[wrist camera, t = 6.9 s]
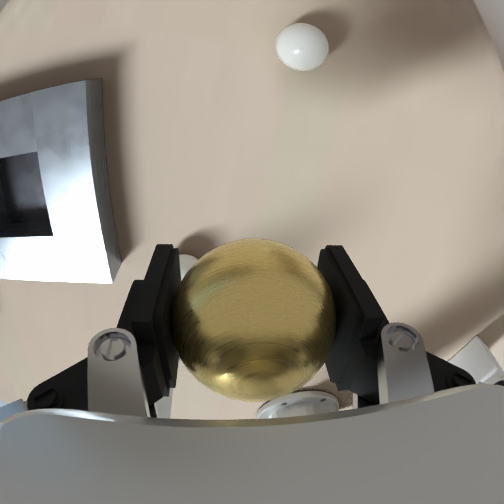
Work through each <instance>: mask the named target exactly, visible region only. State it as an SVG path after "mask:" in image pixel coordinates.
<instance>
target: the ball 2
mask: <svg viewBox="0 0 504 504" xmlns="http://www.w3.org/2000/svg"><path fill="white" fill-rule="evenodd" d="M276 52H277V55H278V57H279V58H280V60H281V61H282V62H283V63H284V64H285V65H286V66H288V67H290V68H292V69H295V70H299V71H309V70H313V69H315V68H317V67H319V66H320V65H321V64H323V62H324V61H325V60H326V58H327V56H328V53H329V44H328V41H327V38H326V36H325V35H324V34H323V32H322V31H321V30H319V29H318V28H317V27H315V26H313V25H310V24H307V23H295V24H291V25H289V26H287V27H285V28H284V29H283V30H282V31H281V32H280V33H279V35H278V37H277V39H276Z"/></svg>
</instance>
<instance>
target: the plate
mask: <svg viewBox="0 0 504 504" xmlns="http://www.w3.org/2000/svg"><path fill="white" fill-rule="evenodd" d="M120 266H121V258H120V253H119V247H118V242H117V236H116V230H115V224H114V218H113V211H112V204H111V197H110V189H109V181H108V172H107V163H106V152H105V140H104V125H103V105H102V79H91V80H83V81H78V82H73V83H68V84H63V85H58V86H54V87H50V88H46V89H41V90H38V91H34V92H30V93H26V94H23V95H19V96H16V97H12V98H9V99H6V100H3V101H0V278H2V279H19V280H38V281H59V282H85V283H113V281H114V279H115V277H116V274H117V272H118V270H119V268H120Z"/></svg>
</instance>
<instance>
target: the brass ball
mask: <svg viewBox="0 0 504 504" xmlns="http://www.w3.org/2000/svg"><path fill="white" fill-rule="evenodd" d="M336 318H337V317H336V309H335V302H334V299H333V296H332V293H331V290H330V287H329V285H328V284H327V282H326V280H325V278H324V277H323V275H322V273H321V272H320V271H319V270H318V268H317V267H316V266H315V265H314V264H313V263H312V262H311V261H310V260H309V259H308V258H307V257H306V256H304V255H303V254H301V253H300V252H298V251H297V250H295V249H293V248H291V247H289V246H287V245H285V244H282V243H279V242H276V241H271V240H265V239H242V240H236V241H232V242H229V243H226V244H224V245H221V246H219V247H217V248H215V249H213V250H211V251H210V252H208V253H206V254H205V255H204V256H202V257H201V258H200V259H199V260H198V261H197V262H196V263H195V264H194V265H193V266H192V267H191V268H190V269H189V270H188V272H187V273H186V275H185V276H184V278H183V279H182V281H181V283H180V285H179V287H178V289H177V292H176V295H175V298H174V302H173V306H172V317H171V323H172V335H173V339H174V343H175V346H176V349H177V351H178V354H179V356H180V358H181V359H182V361H183V363H184V365H185V366H186V367H187V369H188V370H189V371H190V373H191V374H192V375H193V376H194V377H195V378H196V379H197V380H198V381H199V382H201V383H202V384H203V385H204V386H206V387H207V388H208V389H210V390H212V391H213V392H215V393H218V394H220V395H222V396H224V397H227V398H230V399H234V400H239V401H246V402H262V401H269V400H274V399H277V398H280V397H283V396H286V395H288V394H290V393H292V392H294V391H296V390H298V389H299V388H301V387H302V386H303V385H305V384H306V383H307V382H308V381H310V380H311V379H312V378H313V377H314V376H315V375H316V373H317V372H318V371H319V370H320V368H321V367H322V366H323V364H324V363H325V361H326V359H327V357H328V355H329V353H330V351H331V348H332V345H333V342H334V338H335V333H336Z"/></svg>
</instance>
